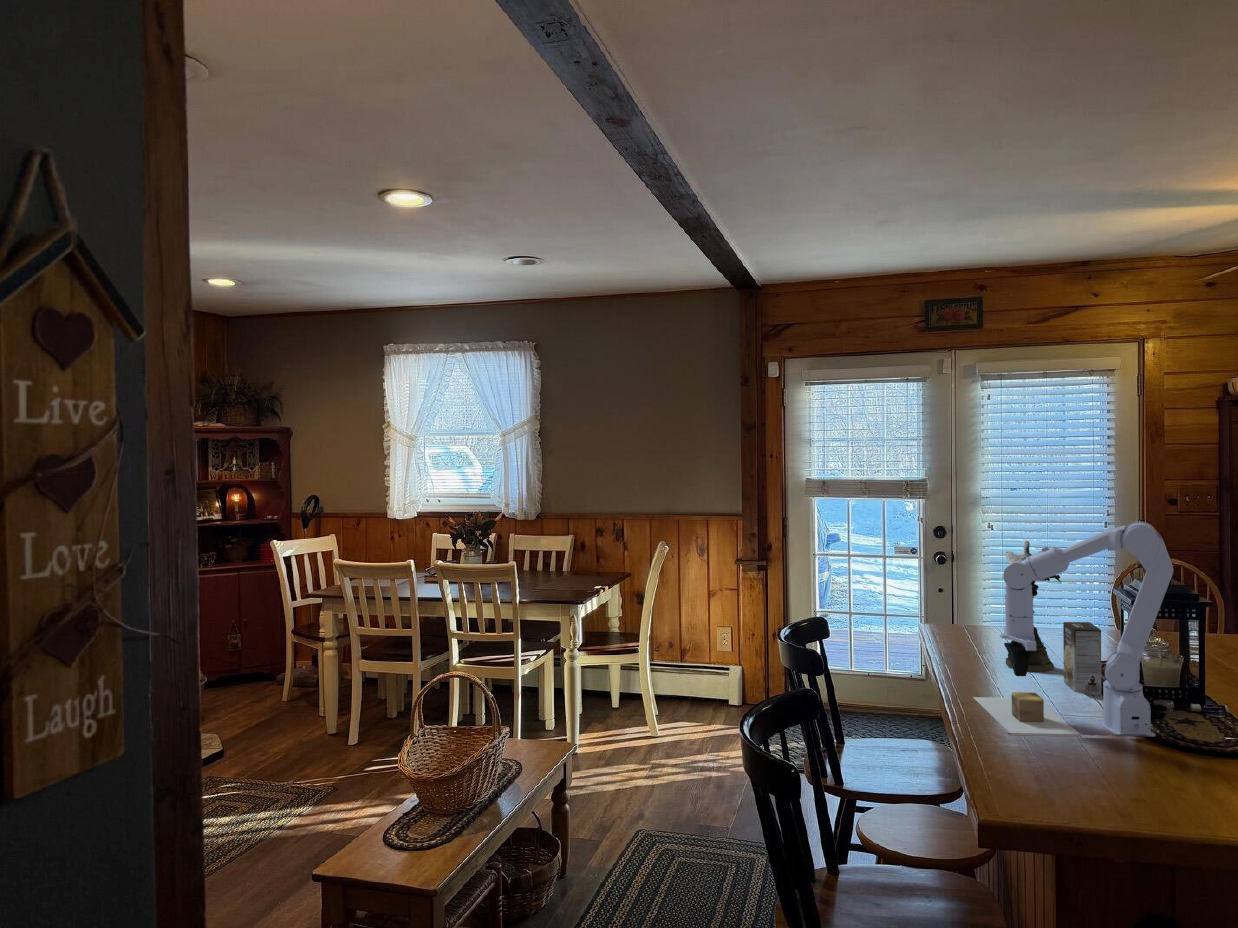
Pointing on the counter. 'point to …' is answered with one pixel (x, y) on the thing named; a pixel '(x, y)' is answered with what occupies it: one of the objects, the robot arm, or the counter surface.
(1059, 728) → the mat
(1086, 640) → the coffee box
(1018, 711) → the flip block
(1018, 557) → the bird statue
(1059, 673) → the counter surface
